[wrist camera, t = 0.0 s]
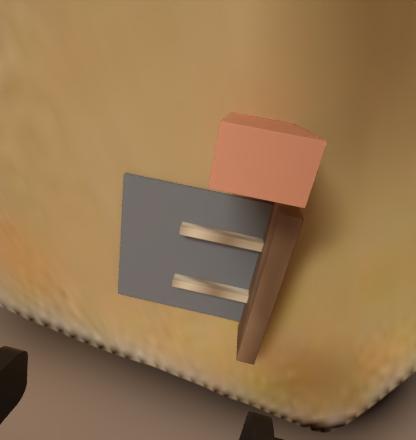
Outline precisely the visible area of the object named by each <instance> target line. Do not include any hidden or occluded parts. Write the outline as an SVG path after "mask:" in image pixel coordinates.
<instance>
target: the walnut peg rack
mask: <svg viewBox="0 0 416 440" xmlns="http://www.w3.org/2000/svg"><path fill="white" fill-rule="evenodd" d="M303 220H304V219H303V216H302V214H301V212H300V210H299V208H298V207H296V206H292V205H287V204H282V203H277V202H274V203H273V206H272V210H271V213H270V217H269V220H268V224H267V227H266V231H265V234H264V238H263V239H262V238H257V237H252V236H248V235H243V234H238V233H234V232H229V231H224V230H219V229H215V228H210V227H205V226H201V225H196V224H191V223H187V222H182V224H181V226H180V233H179V234H180V235H185V236H189V237H194V238H199V239H203V240H208V241H212V242H217V243H222V244H226V245H231V246H236V247H240V248H245V249H250V250H254V251H259V255H258V259H257V262H256V266H255V269H254V273H253V276H252V280H251V283H250V287H249V290H246V289H242V288H237V287H233V286H229V285H224V284H220V283H215V282H211V281H206V280H202V279H197V278H193V277H188V276H184V275H179V274H175V275H174V278H173V281H172V286H173V287H177V288H182V289H186V290H191V291H195V292H200V293H204V294H208V295H213V296H217V297H222V298H226V299H231V300H235V301H239V302H244V303H245V304H244V308H243V311H242V315H241V318H240V322H239V325H238V336H237V358H236V360H237V361H241V362H245V363H249V364H254V363H255V360H256V357H257V354H258V352H259V349H260V346H261V343H262V340H263V337H264V334H265V331H266V328H267V325H268V322H269V319H270V316H271V313H272V311H273V308H274V305H275V302H276V299H277V296H278V293H279V290H280V287H281V284H282V281H283V278H284V275H285V272H286V270H287V267H288V264H289V261H290V258H291V255H292V252H293V249H294V246H295V243H296V240H297V237H298V234H299V231H300V229H301V226H302V223H303Z"/></svg>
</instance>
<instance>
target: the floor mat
mask: <svg viewBox="0 0 416 440" xmlns="http://www.w3.org/2000/svg"><path fill="white" fill-rule="evenodd" d="M272 206H273V203H269V202H264V201H260V200H255V199H250V198H245V197H240V196H235V195H230V194H226V193H221V192H216V191H211V190H206V189H201V188H197V187H192V186H187V185H182V184H177V183H172V182H167V181H163V180H158V179H153V178H148V177H143V176H138V175H133V174H129V173H125V174H124V180H123V200H122V221H121V241H120V262H119V283H118V294H122V295H126V296H131V297H135V298H139V299H144V300H148V301H153V302H157V303H161V304H166V305H170V306H174V307H179V308H183V309H187V310H192V311H196V312H200V313H205V314H209V315H213V316H218V317H222V318H227V319H231V320H235V321H240V318H241V315H242V311H243V308H244V304H245V303H244V302H239V301H235V300H231V299H226V298H222V297H217V296H213V295H208V294H204V293H200V292H195V291H191V290H186V289H182V288H177V287H173V286H172V281H173V278H174V275H175V274H179V275H184V276H188V277H193V278H197V279H202V280H206V281H211V282H215V283H220V284H224V285H229V286H233V287H237V288H242V289H246V290H249V287H250V283H251V280H252V276H253V273H254V269H255V266H256V262H257V259H258V255H259V251H254V250H250V249H245V248H240V247H236V246H231V245H226V244H222V243H217V242H212V241H208V240H203V239H199V238H194V237H189V236H185V235H180V234H179V233H180V226H181V224H182V222H187V223H191V224H196V225H201V226H205V227H210V228H215V229H219V230H224V231H229V232H234V233H238V234H243V235H248V236H252V237H257V238H262V239H263V238H264V234H265V231H266V227H267V224H268V220H269V217H270V213H271V210H272Z"/></svg>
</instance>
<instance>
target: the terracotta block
mask: <svg viewBox="0 0 416 440" xmlns="http://www.w3.org/2000/svg"><path fill="white" fill-rule="evenodd" d="M326 144H327V141H326V140H324V139H322V138H320V137H318V136H316V135H314V134H312V133H310V132H308V131H306V130H305V129H303V128H301V127H299V126H297V125H295V124H290V123H285V122H280V121H275V120H269V119H264V118H259V117H254V116H248V115H243V114H238V113H233V112H232V113H230V114H229V115H227V116H226V117H225V118H223V119H222V120H221V121H220V125H219V130H218V136H217V142H216V147H215V153H214V158H213V164H212V170H211V175H210V181H209V186H208V188H209V189H214V190H219V191H224V192H228V193H233V194H238V195H243V196H248V197H253V198H258V199H262V200H267V201H272V202H277V203H282V204H287V205H292V206H296V207H301V208H305V207H306V204H307V201H308V198H309V195H310V192H311V189H312V186H313V183H314V180H315V177H316V174H317V171H318V168H319V165H320V162H321V159H322V156H323V153H324V150H325V147H326Z"/></svg>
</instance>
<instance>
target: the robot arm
mask: <svg viewBox="0 0 416 440" xmlns="http://www.w3.org/2000/svg"><path fill="white" fill-rule="evenodd" d="M27 362H28V353H27V352H26V351H23V350H19V349H15V348H11V347H8V346H3V347H2V348H0V424H1V423H2V421H3V420H4V419H5V418H6V417H7V416H8V414H9V413H10V412H11V411H12V410H13V409H14V407H15V406H16V405H17V404H18V402H19V401H20V399H21V398H22V396H23V394H24V392H25V389H26V385H27V364H28V363H27ZM239 440H283V439H279V438H275V437H274V429H273V422H272V418H271V417H270V416H266V415H262V414H259V413H255V412H251V411H249V412H248V414H247V417H246V420H245V423H244V426H243V430H242V432H241V435H240V438H239Z"/></svg>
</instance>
